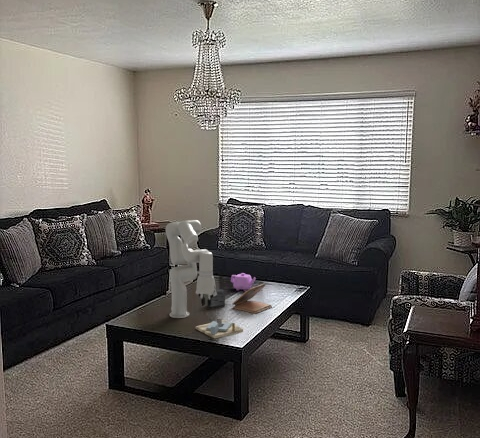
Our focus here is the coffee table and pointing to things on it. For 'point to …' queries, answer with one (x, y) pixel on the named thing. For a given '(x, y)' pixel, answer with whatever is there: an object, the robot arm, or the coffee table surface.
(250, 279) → the teapot
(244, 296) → the case
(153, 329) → the coffee table surface
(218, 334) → the post fixture
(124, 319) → the coffee table surface
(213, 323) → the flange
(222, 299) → the small box
